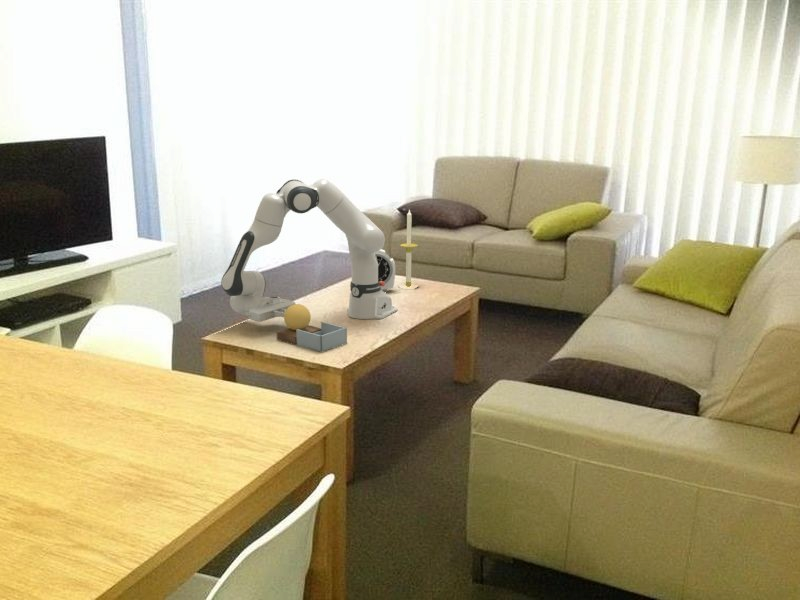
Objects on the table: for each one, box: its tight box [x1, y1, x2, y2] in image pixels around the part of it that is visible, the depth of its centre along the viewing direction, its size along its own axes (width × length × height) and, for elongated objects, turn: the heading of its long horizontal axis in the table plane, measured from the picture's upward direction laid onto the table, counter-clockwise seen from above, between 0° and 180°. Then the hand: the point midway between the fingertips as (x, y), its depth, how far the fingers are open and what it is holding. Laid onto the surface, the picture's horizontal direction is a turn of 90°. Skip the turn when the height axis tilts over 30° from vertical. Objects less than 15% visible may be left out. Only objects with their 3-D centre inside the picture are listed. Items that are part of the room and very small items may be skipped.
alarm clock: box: [375, 248, 396, 293], centre depth 373 cm, size 18×8×20 cm, turn 90°
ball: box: [283, 303, 311, 330], centre depth 304 cm, size 10×10×10 cm
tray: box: [296, 321, 348, 353], centre depth 298 cm, size 14×13×6 cm
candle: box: [399, 208, 419, 287], centre depth 380 cm, size 10×10×38 cm
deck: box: [276, 324, 321, 346], centre depth 305 cm, size 14×10×3 cm
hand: (286, 314), depth 308 cm, fingers closed
